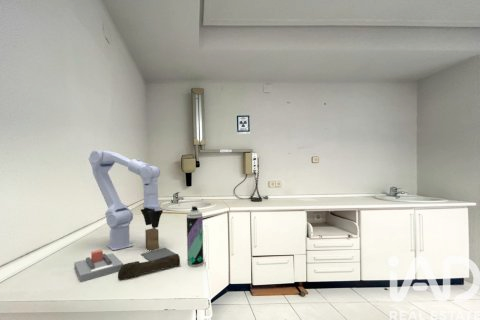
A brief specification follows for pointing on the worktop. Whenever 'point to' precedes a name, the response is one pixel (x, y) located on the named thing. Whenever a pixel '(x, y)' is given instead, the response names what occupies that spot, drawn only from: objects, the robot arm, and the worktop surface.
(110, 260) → the panel
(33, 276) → the worktop surface
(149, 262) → the hand tool
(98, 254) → the lever
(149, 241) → the tan wooden post
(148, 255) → the mat
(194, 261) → the spray can
